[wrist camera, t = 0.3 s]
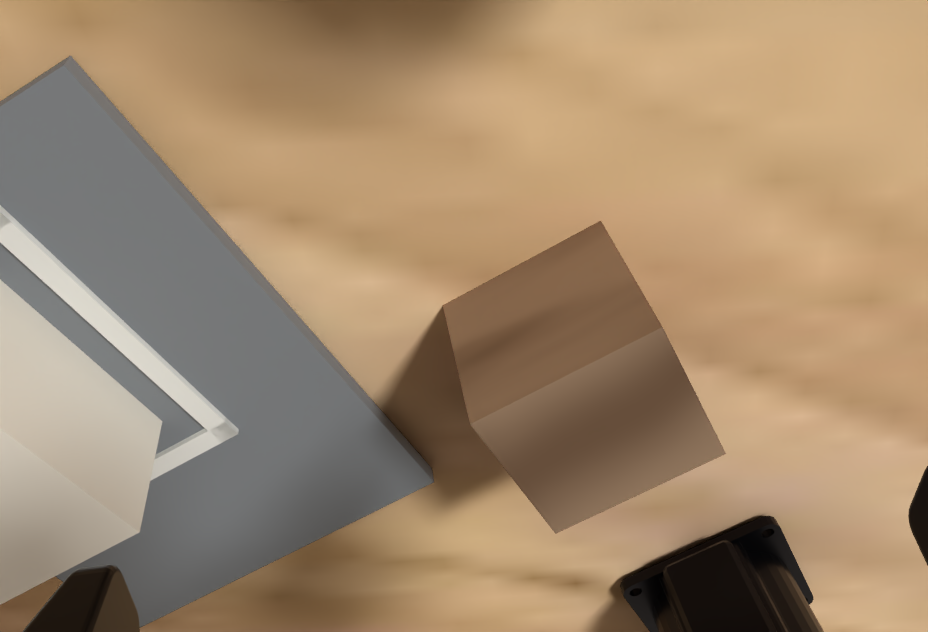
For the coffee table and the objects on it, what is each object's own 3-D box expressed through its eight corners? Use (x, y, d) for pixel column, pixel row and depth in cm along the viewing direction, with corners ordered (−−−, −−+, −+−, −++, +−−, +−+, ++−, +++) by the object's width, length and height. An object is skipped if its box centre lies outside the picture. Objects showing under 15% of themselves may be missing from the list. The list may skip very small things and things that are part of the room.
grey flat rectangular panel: (432, 468, 27) (434, 486, 27) (128, 620, 29) (124, 639, 29) (70, 55, 18) (61, 68, 17) (-334, 320, 20) (-354, 340, 20)
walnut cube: (660, 338, 26) (725, 453, 22) (518, 409, 26) (555, 533, 22) (599, 219, 23) (662, 327, 19) (442, 304, 24) (469, 424, 20)
